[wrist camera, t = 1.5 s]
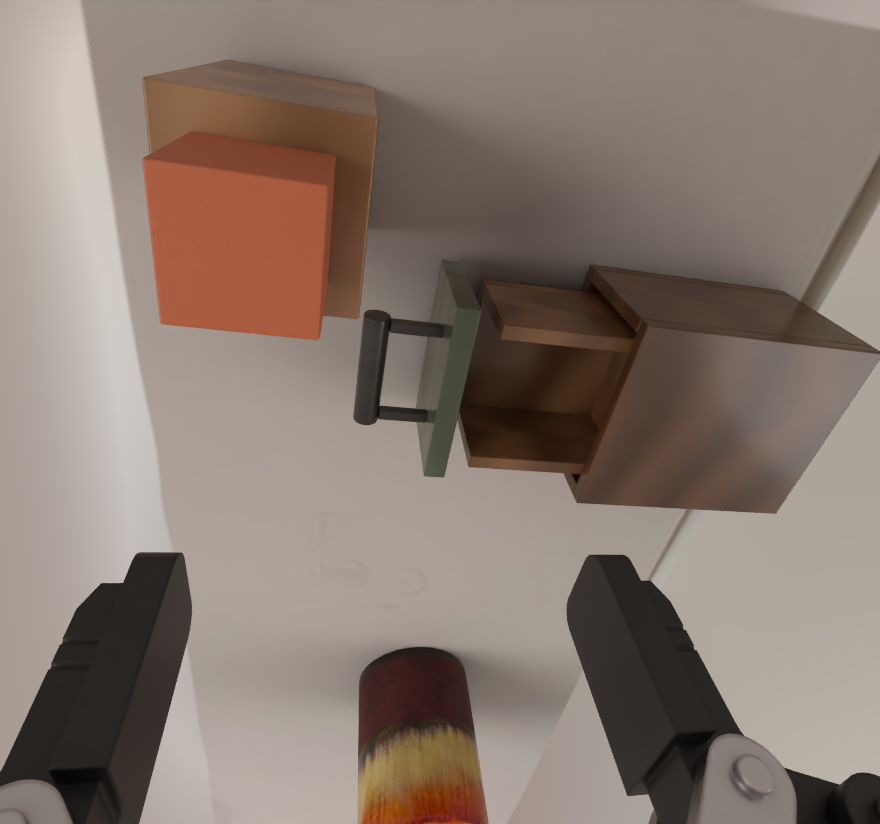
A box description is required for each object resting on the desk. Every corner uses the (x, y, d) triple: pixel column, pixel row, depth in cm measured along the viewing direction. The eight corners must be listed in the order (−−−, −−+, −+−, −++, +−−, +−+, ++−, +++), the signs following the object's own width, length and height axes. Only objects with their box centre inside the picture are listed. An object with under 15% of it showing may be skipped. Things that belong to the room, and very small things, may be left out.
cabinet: (539, 420, 40) (576, 503, 33) (589, 264, 34) (648, 325, 27) (708, 434, 43) (776, 514, 36) (784, 291, 37) (884, 353, 29)
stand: (230, 210, 30) (163, 299, 20) (225, 59, 26) (140, 76, 16) (361, 229, 31) (358, 320, 22) (374, 87, 28) (378, 118, 18)
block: (198, 270, 20) (159, 324, 16) (189, 130, 17) (141, 157, 14) (327, 285, 21) (319, 341, 17) (336, 154, 18) (328, 185, 15)
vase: (377, 640, 53) (382, 923, 36) (481, 653, 56) (530, 920, 39) (346, 702, 58) (338, 974, 41) (443, 711, 61) (472, 967, 44)
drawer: (351, 405, 37) (349, 472, 31) (367, 249, 31) (367, 297, 26) (589, 424, 40) (625, 488, 34) (642, 286, 34) (695, 335, 29)
